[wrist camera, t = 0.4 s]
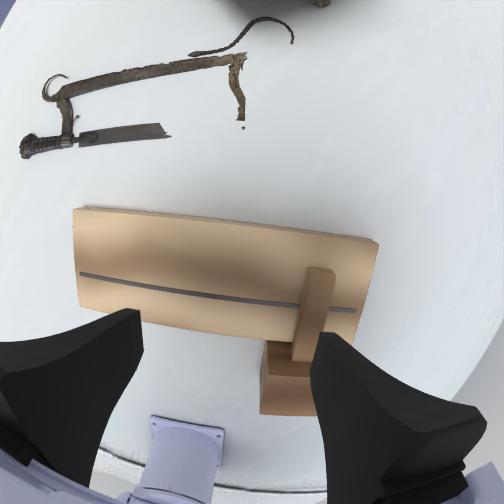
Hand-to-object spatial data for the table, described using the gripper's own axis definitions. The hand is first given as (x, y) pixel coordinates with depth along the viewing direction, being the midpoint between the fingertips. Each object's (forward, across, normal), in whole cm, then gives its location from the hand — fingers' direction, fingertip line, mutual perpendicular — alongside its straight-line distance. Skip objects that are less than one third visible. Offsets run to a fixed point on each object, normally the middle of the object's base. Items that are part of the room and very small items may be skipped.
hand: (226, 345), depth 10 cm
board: (+10, +2, +1) cm, 10 cm away
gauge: (+10, -5, +4) cm, 12 cm away
